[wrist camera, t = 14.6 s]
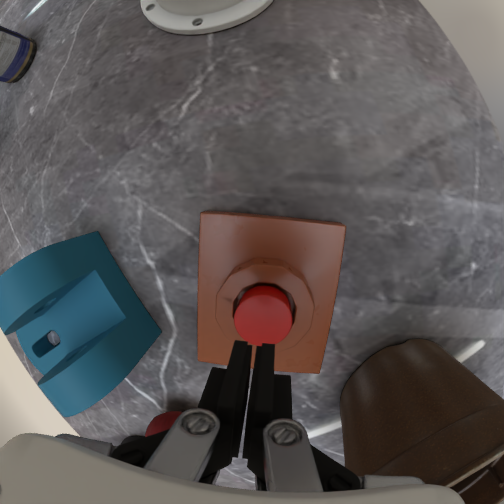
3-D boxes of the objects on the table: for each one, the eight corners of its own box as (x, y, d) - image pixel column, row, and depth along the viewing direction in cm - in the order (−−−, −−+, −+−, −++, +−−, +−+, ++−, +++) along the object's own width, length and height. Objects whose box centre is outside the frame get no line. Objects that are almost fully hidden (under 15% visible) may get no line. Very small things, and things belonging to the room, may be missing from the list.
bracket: (97, 231, 22) (7, 259, 12) (161, 331, 24) (103, 407, 13) (19, 309, 26) (-38, 343, 15) (66, 379, 27) (18, 427, 17)
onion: (163, 426, 27) (139, 477, 19) (156, 391, 25) (124, 444, 18) (213, 436, 26) (197, 492, 18) (211, 401, 25) (191, 462, 17)
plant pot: (375, 289, 21) (488, 436, 5) (487, 336, 21) (574, 423, 5) (290, 426, 25) (288, 566, 9) (406, 444, 25) (440, 544, 9)
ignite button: (239, 282, 19) (235, 291, 17) (294, 287, 18) (296, 297, 17) (236, 330, 19) (232, 343, 18) (288, 336, 19) (288, 349, 17)
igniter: (206, 210, 21) (192, 214, 18) (341, 222, 20) (353, 229, 17) (202, 350, 24) (191, 373, 20) (317, 362, 23) (321, 387, 19)
